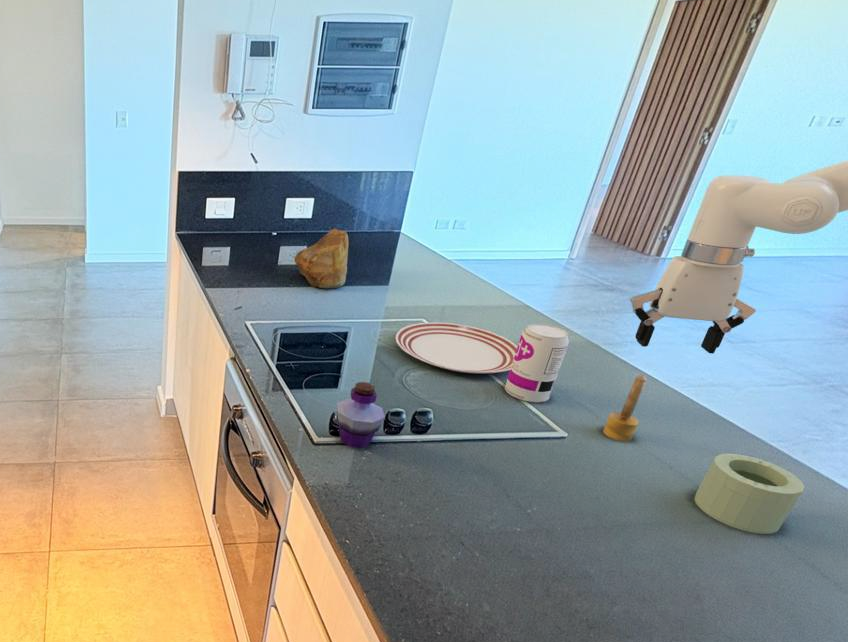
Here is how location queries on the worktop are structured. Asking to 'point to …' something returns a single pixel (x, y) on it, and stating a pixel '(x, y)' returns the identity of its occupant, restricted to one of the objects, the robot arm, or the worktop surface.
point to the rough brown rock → (325, 260)
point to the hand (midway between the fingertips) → (673, 347)
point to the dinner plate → (457, 347)
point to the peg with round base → (625, 415)
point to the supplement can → (537, 362)
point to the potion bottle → (359, 416)
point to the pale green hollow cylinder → (748, 493)
